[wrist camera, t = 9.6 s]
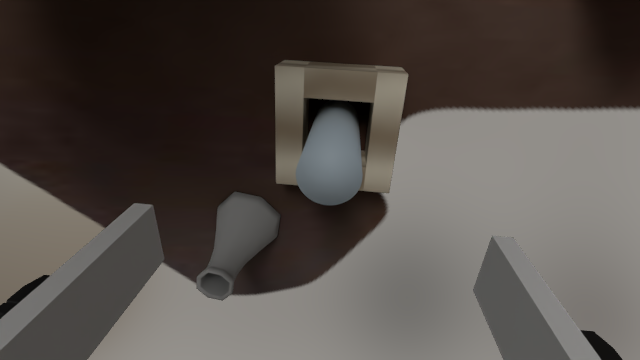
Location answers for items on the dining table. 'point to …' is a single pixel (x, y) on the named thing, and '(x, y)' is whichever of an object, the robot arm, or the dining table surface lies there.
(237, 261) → the flask
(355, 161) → the peg
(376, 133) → the socket block
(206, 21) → the dining table surface
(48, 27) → the dining table surface
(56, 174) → the dining table surface
